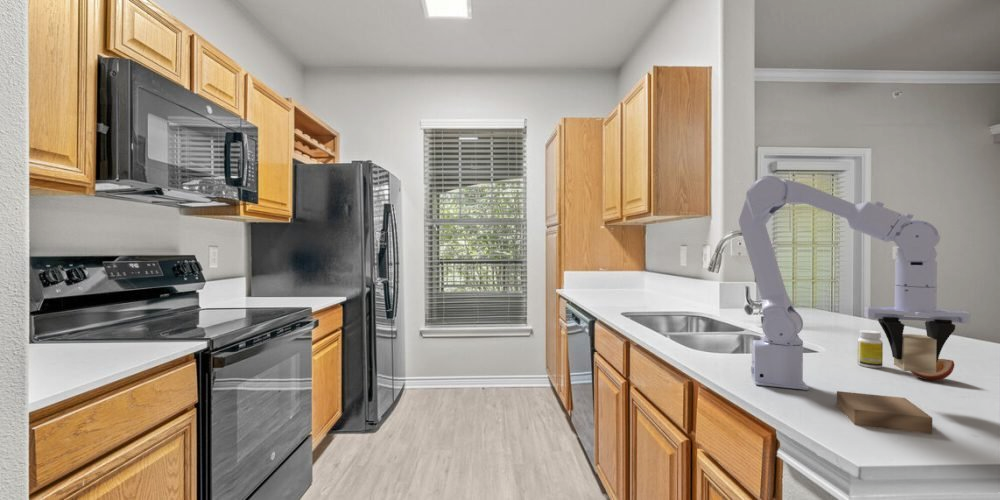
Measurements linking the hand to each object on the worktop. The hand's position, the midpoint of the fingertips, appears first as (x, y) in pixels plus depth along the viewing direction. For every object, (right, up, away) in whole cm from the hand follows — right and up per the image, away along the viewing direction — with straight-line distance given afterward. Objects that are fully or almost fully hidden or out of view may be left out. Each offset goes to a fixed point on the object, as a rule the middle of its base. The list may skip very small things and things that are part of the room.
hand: (914, 359), depth 84 cm
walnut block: (-11, -9, -6) cm, 16 cm away
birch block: (0, -2, 0) cm, 2 cm away
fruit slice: (+18, -8, +16) cm, 26 cm away
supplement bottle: (+14, -8, +27) cm, 31 cm away
